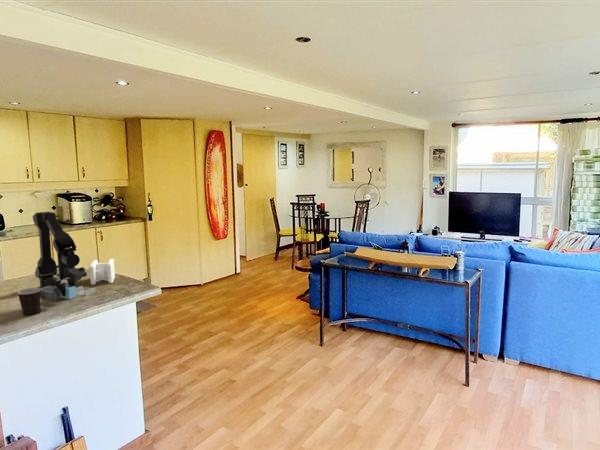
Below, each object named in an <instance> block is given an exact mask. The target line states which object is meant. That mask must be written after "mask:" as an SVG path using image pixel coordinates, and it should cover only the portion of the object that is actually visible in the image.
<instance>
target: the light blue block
mask: <svg viewBox="0 0 600 450" xmlns="http://www.w3.org/2000/svg"><path fill="white" fill-rule="evenodd" d="M76 288H77V287H76V285H75V286H70V285H69V284H68V283H67V284H66V285H65V292H66V295H65V296H63V295H62V294H61V292H60V294H59V297H60V299H66V300H71V299H73V298H74V299H75V298H76V297H77V294H76Z"/></svg>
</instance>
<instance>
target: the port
mask: <svg viewBox="0 0 600 450" xmlns="http://www.w3.org/2000/svg"><path fill="white" fill-rule="evenodd" d="M40 289H41V299H44V298H45V299H51V300H53V299H54V301H55V300H58V295H60V291H59V289H58V288H57V287H56V286H46V287H43V288H40Z"/></svg>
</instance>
